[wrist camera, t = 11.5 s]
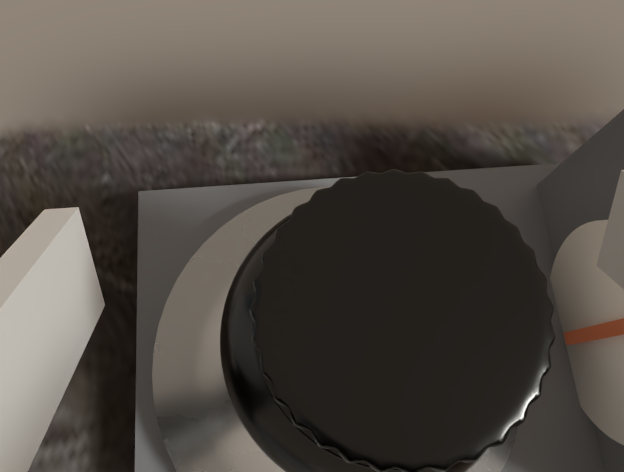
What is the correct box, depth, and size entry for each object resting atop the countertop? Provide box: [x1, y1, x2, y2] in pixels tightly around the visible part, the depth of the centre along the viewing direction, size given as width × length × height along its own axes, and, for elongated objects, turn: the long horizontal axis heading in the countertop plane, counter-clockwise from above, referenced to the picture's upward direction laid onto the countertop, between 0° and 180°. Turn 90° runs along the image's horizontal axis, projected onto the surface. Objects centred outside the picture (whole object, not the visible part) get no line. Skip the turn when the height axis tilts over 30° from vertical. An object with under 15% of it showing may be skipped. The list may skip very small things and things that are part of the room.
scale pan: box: [152, 187, 518, 472], centre depth 20 cm, size 14×14×1 cm
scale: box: [135, 110, 624, 472], centre depth 19 cm, size 22×16×10 cm
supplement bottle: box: [220, 169, 555, 472], centre depth 13 cm, size 7×7×12 cm
